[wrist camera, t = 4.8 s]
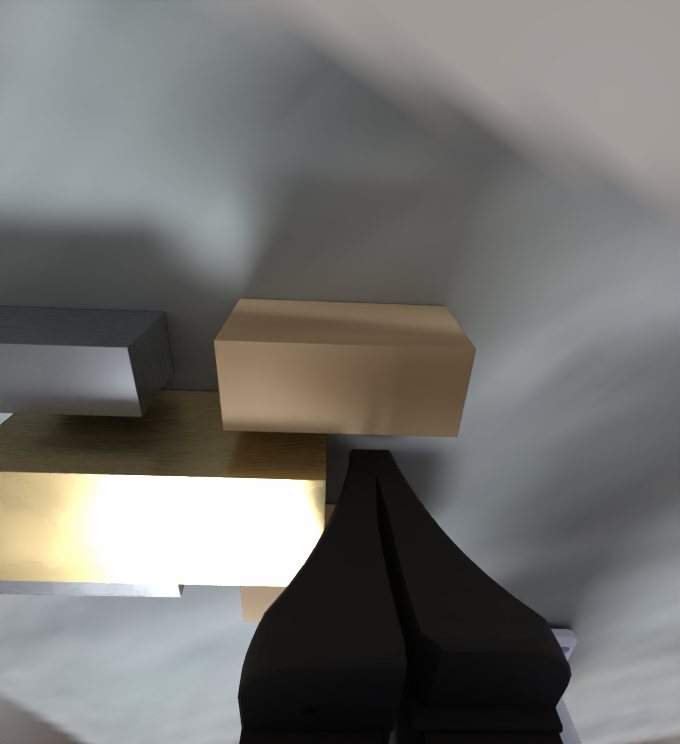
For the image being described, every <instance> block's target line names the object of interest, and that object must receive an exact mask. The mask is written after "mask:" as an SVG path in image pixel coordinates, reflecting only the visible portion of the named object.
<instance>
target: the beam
mask: <svg viewBox="0 0 680 744" xmlns="http://www.w3.org/2000/svg"><path fill="white" fill-rule="evenodd" d="M214 347H215V356H216V365H217V375H218V384H219V393H220V403H221V412H222V421H223V430H224V431H259V432H294V433H330V434H365V435H400V436H435V437H457V436H458V431H459V427H460V422H461V417H462V412H463V408H464V403H465V398H466V394H467V389H468V384H469V379H470V375H471V370H472V365H473V360H474V356H475V351H476V349H475V347H474V346H473V344H472V343H471V342H470V340H469V339H468V337H467V336H466V334H465V333H464V331H463V330H462V329H461V327H460V326H459V324H458V323H457V321H456V320H455V318H454V317H453V316H452V314H451V313H450V311H449V310H448V308H447V307H446V306H429V305H402V304H375V303H348V302H321V301H294V300H267V299H240V300H239V301H238V303H237V304H236V306H235V308H234V309H233V311H232V312H231V314H230V315H229V317H228V319H227V320H226V322H225V323H224V325H223V327H222V328H221V330H220V331H219V333H218V335H217V336H216V338H215V339H214ZM335 506H336V504H325V516H324V529H325V527H326V525H327V523H328V521H329V519H330V517H331V515H332V513H333V511H334V508H335ZM286 587H287V586H247V585H240V589H241V599H242V608H243V617H244V621H261V619H262V617H263V615H264V613H265V611H266V610H267V609H268V608H269V607H270V606H271V605H272V603H273V602H274V601H275V600H276V599H277V598H278V596H279V595H280V594H281V593H282V592H283V591H284V589H285V588H286Z"/></svg>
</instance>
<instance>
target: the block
mask: <svg viewBox="0 0 680 744" xmlns="http://www.w3.org/2000/svg"><path fill="white" fill-rule="evenodd" d="M326 460H327V433H294V432H259V431H224V430H223V421H222V412H221V403H220V393H219V392H210V391H181V390H161V391H160V392H159V394H158V395H157V397H156V398H155V399H154V401H153V402H152V403H151V405H150V406H149V408H148V409H147V410H146V412H145V413H144V415H143V416H142V417H131V416H96V415H62V414H27V413H14V414H13V415H11V416H10V417H9V418H8V419H7V420H5V421H4V422H3V423H2V424H1V425H0V579H1V580H7V581H55V582H103V583H151V584H199V585H247V586H288V584H289V583H290V582H291V580H292V579H293V578H294V576H295V575H296V573H297V572H298V571H299V569H300V568H301V567H302V565H303V564H304V562H305V561H306V559H307V558H308V556H309V555H310V553H311V552H312V550H313V548H314V547H315V545H316V543H317V542H318V540H319V538H320V537H321V535H322V533H323V531H324V516H325V491H326Z"/></svg>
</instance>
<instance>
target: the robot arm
mask: <svg viewBox="0 0 680 744" xmlns="http://www.w3.org/2000/svg"><path fill="white" fill-rule="evenodd" d="M577 641H578V640H577V638H576V636H575V634H574V632H573V631H571V630H569V629H551V628H550V627H549V625H548V623H547V621H546V620H545V619H544V618H543V617H542V616H540V615H539V614H537V613H536V612H535V611H533V610H532V609H530V608H529V607H528V606H526V605H525V604H523V603H522V602H521V601H519V600H518V599H517V598H515V597H514V596H512V595H511V594H510V593H508V592H507V591H506V590H505V589H504V588H502V587H501V586H500V585H499V584H497V583H496V582H495V581H494V580H493V579H491V578H490V577H489V576H488V575H487V574H486V573H485V572H484V571H482V570H481V569H480V568H479V567H478V566H477V565H476V564H475V563H474V562H473V561H472V560H470V559H469V558H468V557H467V556H466V555H465V554H464V553H463V552H462V551H461V550H460V549H459V548H458V546H457V545H456V544H455V543H454V542H453V541H452V540H451V539H450V538H449V537H448V536H447V534H446V533H445V532H444V531H443V530H442V529H441V528H440V526H439V525H438V524H437V523H436V521H435V520H434V519H433V518H432V516H431V515H430V514H429V512H428V511H427V510H426V508H425V507H424V506H423V504H422V503H421V502H420V500H419V499H418V497H417V496H416V494H415V493H414V491H413V490H412V488H411V487H410V485H409V484H408V482H407V480H406V479H405V477H404V475H403V474H402V472H401V470H400V469H399V467H398V465H397V463H396V461H395V459H394V457H393V455H392V453H391V452H390V451H389V450H362V449H353V450H352V451H350V453H349V467H348V471H347V475H346V479H345V482H344V485H343V488H342V491H341V494H340V496H339V499H338V501H337V504H336V506H335V508H334V511H333V513H332V515H331V517H330V519H329V521H328V523H327V525H326V527H325V529H324V531H323V533H322V535H321V537H320V538H319V540H318V542H317V543H316V545H315V547H314V548H313V550H312V552H311V553H310V555H309V556H308V558H307V559H306V561H305V562H304V564H303V565H302V567H301V568H300V569H299V571H298V572H297V573H296V575H295V576H294V578H293V579H292V580H291V582H290V583H289V584H288V586H287V587H286V588H285V589H284V591H283V592H282V593H281V594H280V595H279V596H278V598H277V599H276V600H275V601H274V602H273V603H272V605H271V606H270V607H269V608H268V609H267V610H266V611H265V613H264V615H263V617H262V619H261V621H260V623H259V625H258V627H257V629H256V631H255V634H254V636H253V638H252V640H251V643H250V645H249V648H248V651H247V654H246V657H245V660H244V664H243V667H242V673H241V679H240V685H239V692H238V702H239V710H240V718H241V725H242V730H241V736H240V742H239V744H581V741H580V739H579V737H578V734H577V732H576V729H575V727H574V724H573V722H572V720H571V717H570V715H569V712H568V710H567V707H566V705H565V703H564V700H563V698H562V695H563V693H564V692H565V690H566V688H567V686H568V684H569V681H570V677H571V670H570V666H569V663H568V659H569V657H570V655H571V654H572V652H573V650H574V648H575V646H576V644H577ZM0 744H1V743H0Z"/></svg>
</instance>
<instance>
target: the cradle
mask: <svg viewBox="0 0 680 744" xmlns="http://www.w3.org/2000/svg"><path fill="white" fill-rule="evenodd" d="M173 373H174V370H173V363H172V357H171V351H170V345H169V339H168V332H167V326H166V320H165V314H164V312H148V311H120V310H92V309H64V308H36V307H8V306H0V413H27V414H62V415H96V416H131V417H142V416H143V415H144V413H145V412H146V410H147V409H148V408H149V406H150V405H151V403H152V402H153V401H154V399H155V398H156V397H157V395H158V394H159V392H160V391H161V390H162V388H163V387H164V385H165V384H166V383H167V381H168V380H169V378H170V377H171V376H172V374H173ZM184 585H185V584H151V583H103V582H55V581H7V580H1V579H0V594H33V595H90V596H147V597H181V594H182V591H183V588H184Z"/></svg>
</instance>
